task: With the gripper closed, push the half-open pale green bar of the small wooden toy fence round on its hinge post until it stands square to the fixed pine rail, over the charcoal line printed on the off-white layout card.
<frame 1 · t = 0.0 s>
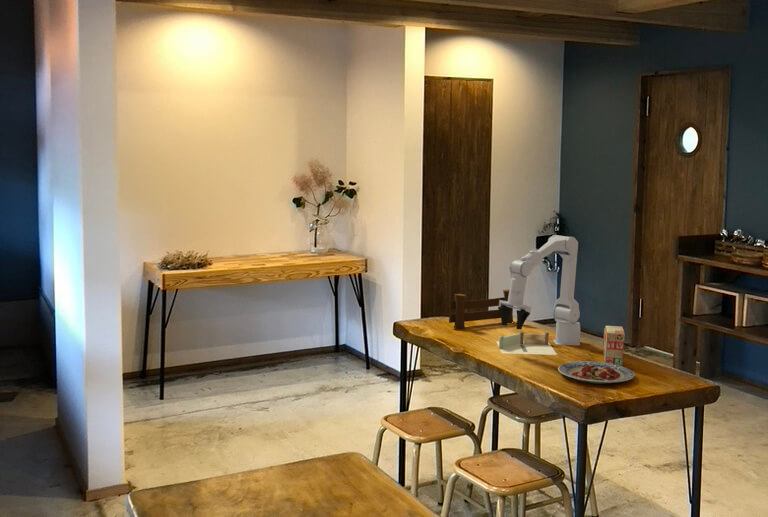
hand: (511, 327, 325), 11 cm above the table, tool pointing down, fingers open, 7 cm apart
stack of blocks: (612, 359, 324), on the table
layout card: (525, 348, 336), on the table
decorative fence: (483, 326, 377), on the table
ceramic plate: (595, 377, 299), on the table
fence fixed: (521, 343, 343), resting on layout card
pale green bar: (509, 340, 337), point 3 cm above the table, hinge at 45.0°
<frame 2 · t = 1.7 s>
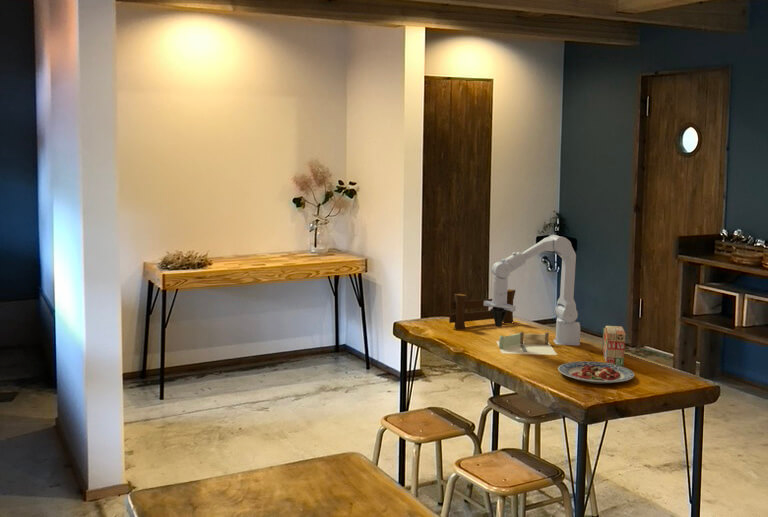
hand: (498, 326, 340), 8 cm above the table, tool pointing down, fingers closed
nothing on the table moved.
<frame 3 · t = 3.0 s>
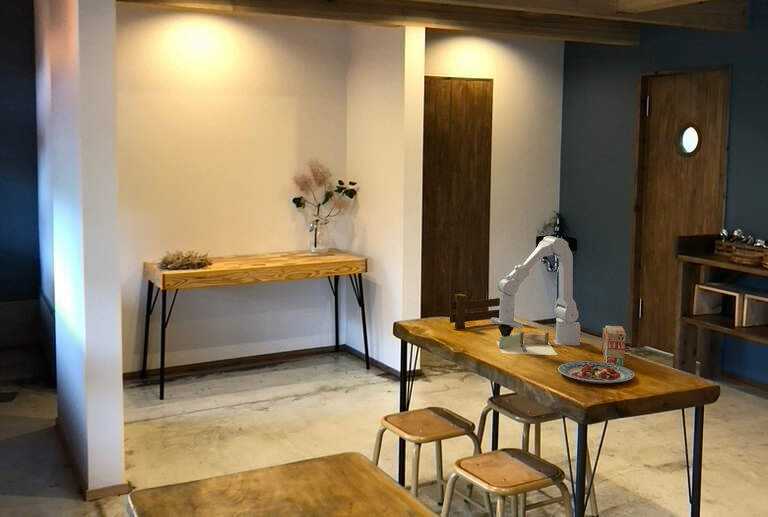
hand: (505, 343, 338), 1 cm above the table, tool pointing down, fingers closed, pressing on pale green bar
pale green bar: (509, 340, 337), point 3 cm above the table, hinge at 45.3°, touching gripper
everything else where it was.
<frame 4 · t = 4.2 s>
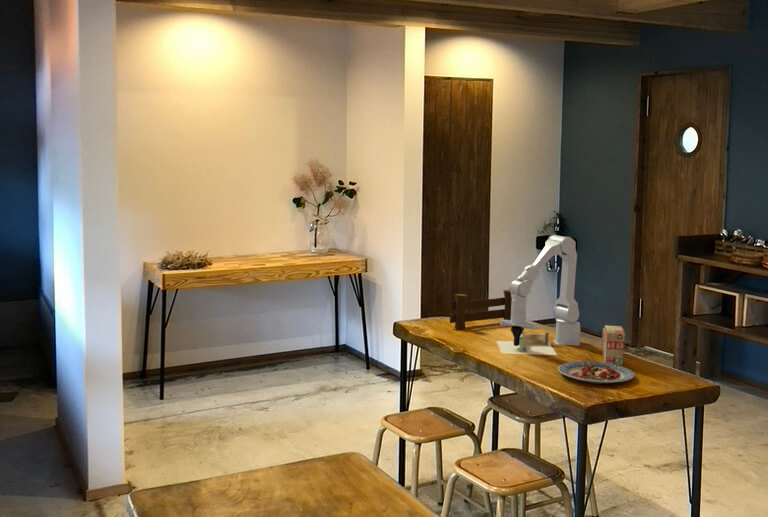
hand: (516, 345, 335), 1 cm above the table, tool pointing down, fingers closed, pressing on pale green bar
pale green bar: (521, 341, 335), point 3 cm above the table, hinge at 83.0°, touching gripper
everything else where it was.
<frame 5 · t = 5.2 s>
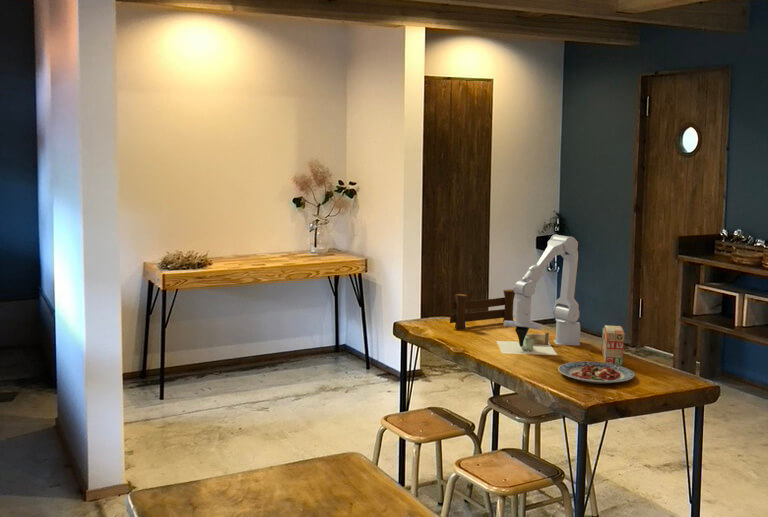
hand: (521, 345, 334), 1 cm above the table, tool pointing down, fingers closed
pale green bar: (526, 341, 335), point 3 cm above the table, hinge at 99.4°, touching gripper
everything else where it was.
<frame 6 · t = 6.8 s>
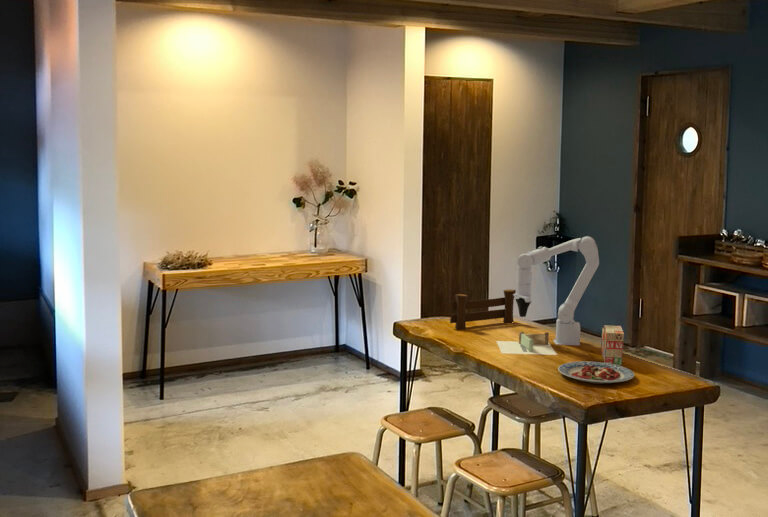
hand: (522, 316, 349), 10 cm above the table, tool pointing down, fingers closed
pale green bar: (526, 341, 335), point 3 cm above the table, hinge at 99.4°
everything else where it was.
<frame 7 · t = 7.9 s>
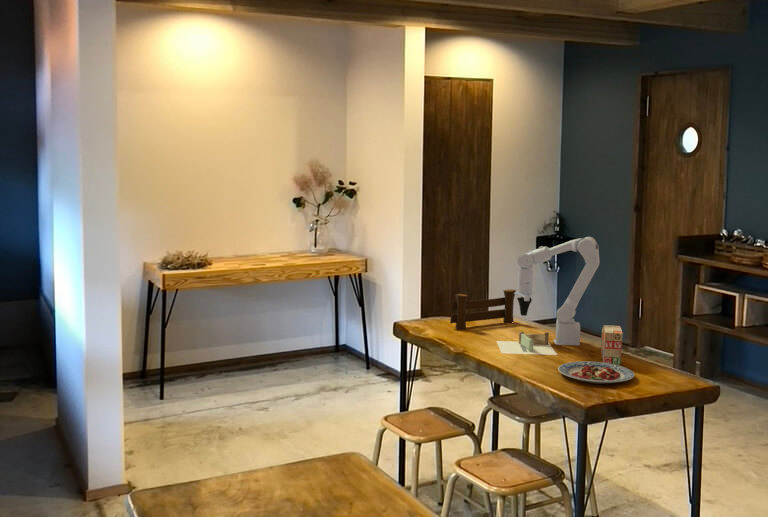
hand: (523, 315, 351), 10 cm above the table, tool pointing down, fingers closed
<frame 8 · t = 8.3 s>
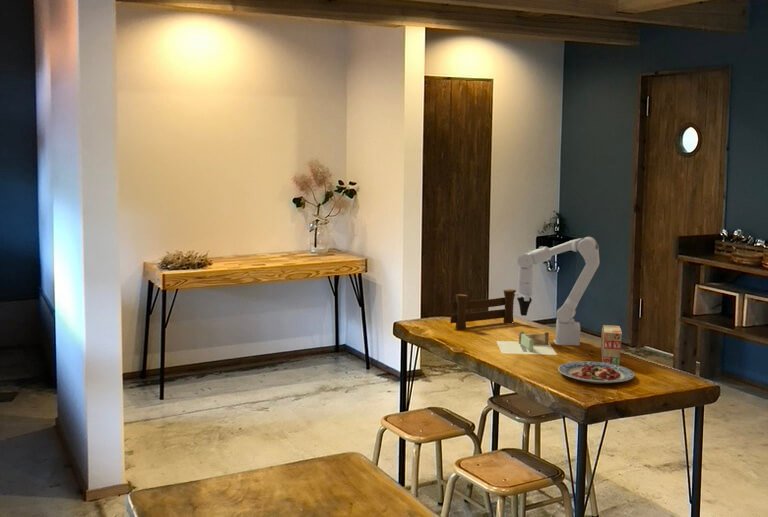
hand: (523, 315, 351), 10 cm above the table, tool pointing down, fingers closed
at the end: pale green bar at +99° (first picture: +45°) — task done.
